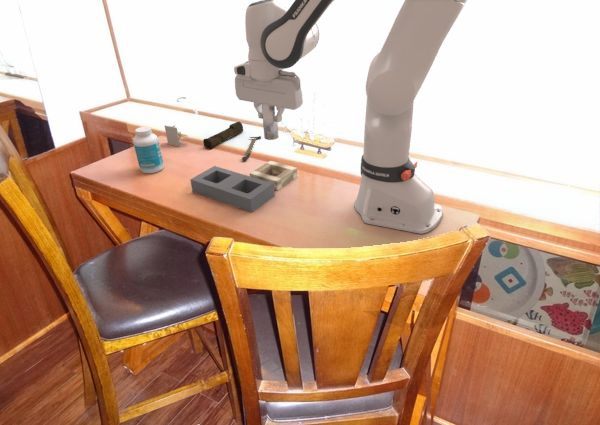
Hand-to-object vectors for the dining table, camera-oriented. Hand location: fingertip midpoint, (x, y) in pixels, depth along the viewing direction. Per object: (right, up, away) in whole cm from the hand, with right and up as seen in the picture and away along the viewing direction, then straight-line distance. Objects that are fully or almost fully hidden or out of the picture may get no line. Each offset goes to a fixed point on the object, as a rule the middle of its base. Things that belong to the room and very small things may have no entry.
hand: (270, 119), depth 121 cm
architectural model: (-36, -2, +35) cm, 51 cm away
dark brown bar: (-19, 0, +38) cm, 42 cm away
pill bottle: (-39, -12, +19) cm, 45 cm away
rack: (-11, -20, +3) cm, 23 cm away
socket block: (0, -16, +10) cm, 19 cm away
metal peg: (0, -4, +3) cm, 5 cm away
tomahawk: (-10, -4, +30) cm, 32 cm away
